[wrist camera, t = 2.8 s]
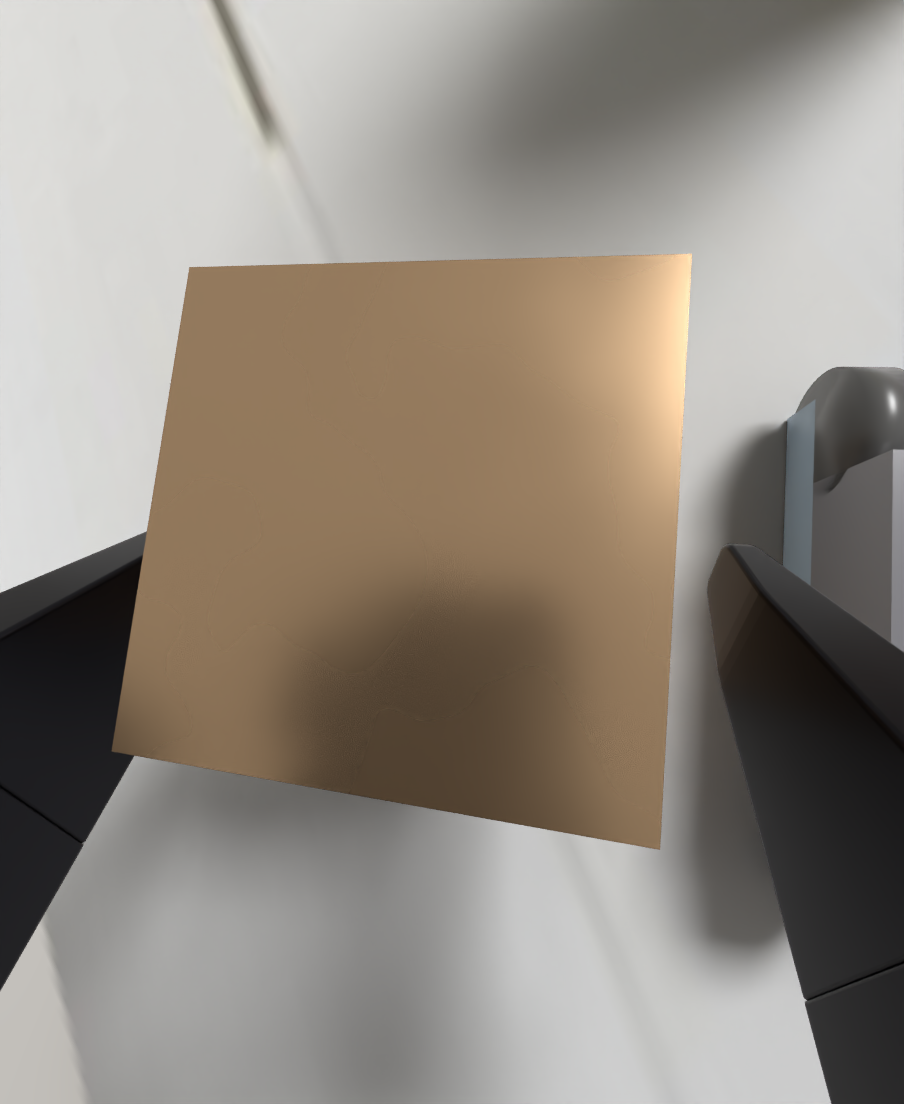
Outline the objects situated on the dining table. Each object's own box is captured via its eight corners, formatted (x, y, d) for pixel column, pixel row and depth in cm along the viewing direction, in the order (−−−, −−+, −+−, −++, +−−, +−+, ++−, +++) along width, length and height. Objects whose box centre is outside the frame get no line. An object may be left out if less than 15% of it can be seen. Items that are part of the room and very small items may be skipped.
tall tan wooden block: (560, 662, 15) (660, 849, 4) (413, 644, 16) (111, 750, 5) (571, 513, 16) (691, 254, 4) (428, 503, 17) (189, 267, 5)
